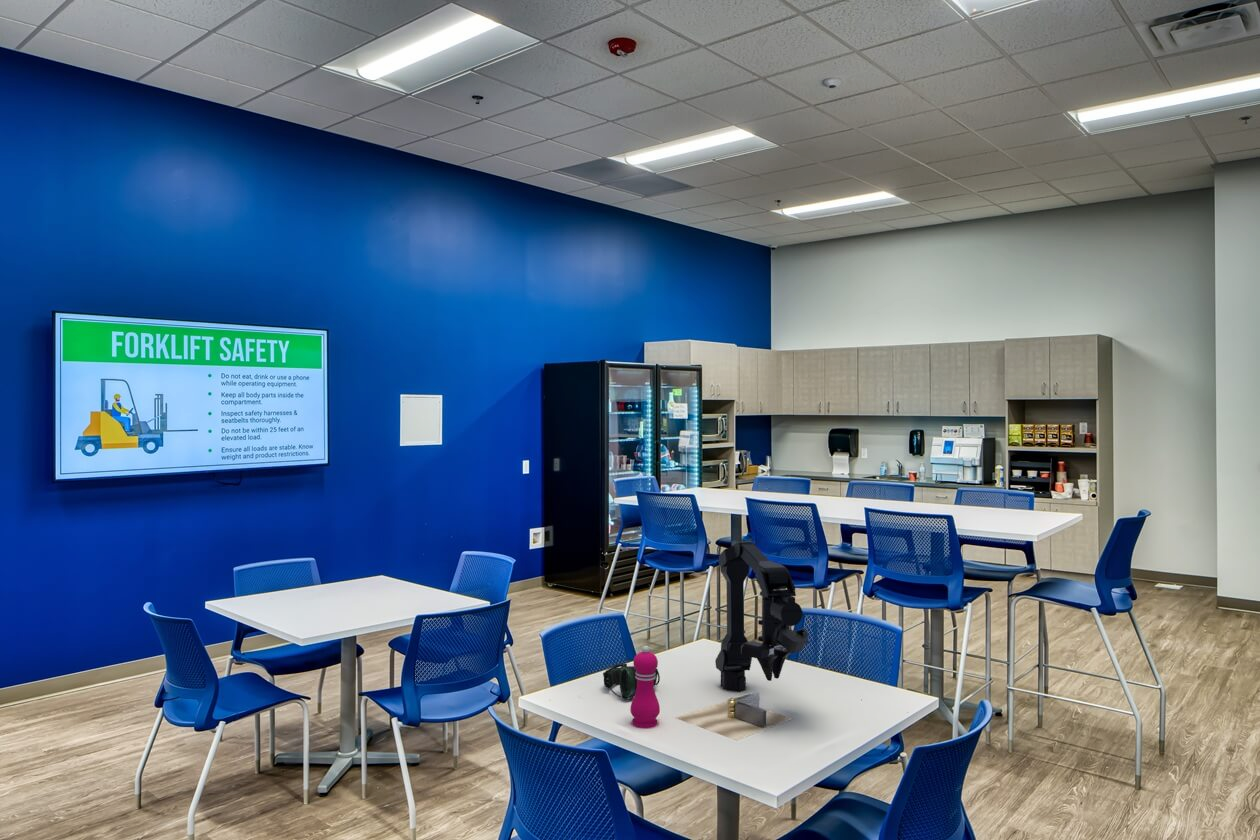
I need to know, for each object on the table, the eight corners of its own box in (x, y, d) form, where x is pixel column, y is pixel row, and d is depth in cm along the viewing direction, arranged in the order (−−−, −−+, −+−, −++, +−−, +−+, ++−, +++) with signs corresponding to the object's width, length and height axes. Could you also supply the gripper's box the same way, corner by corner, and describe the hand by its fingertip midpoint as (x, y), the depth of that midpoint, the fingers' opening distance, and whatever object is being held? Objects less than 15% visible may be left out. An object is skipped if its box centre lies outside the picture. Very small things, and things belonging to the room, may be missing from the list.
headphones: (676, 679, 222) (652, 670, 241) (642, 646, 220) (620, 639, 239) (645, 719, 217) (622, 707, 236) (610, 685, 216) (590, 676, 235)
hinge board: (674, 721, 205) (674, 717, 205) (731, 702, 220) (731, 698, 220) (736, 744, 191) (736, 740, 191) (793, 722, 206) (793, 718, 206)
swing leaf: (726, 715, 207) (726, 700, 207) (731, 713, 208) (731, 698, 208) (761, 727, 198) (761, 712, 198) (767, 725, 200) (767, 710, 200)
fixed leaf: (732, 718, 205) (733, 700, 205) (725, 716, 207) (725, 698, 207) (761, 708, 213) (761, 691, 213) (753, 706, 214) (754, 689, 214)
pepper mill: (642, 720, 206) (643, 640, 206) (665, 726, 202) (666, 645, 202) (624, 728, 201) (625, 646, 201) (647, 735, 196) (648, 651, 196)
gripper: (776, 628, 193) (776, 695, 193) (822, 617, 206) (821, 679, 205) (739, 620, 201) (739, 684, 201) (785, 609, 214) (785, 669, 214)
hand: (772, 679), depth 205 cm, fingers open, 3 cm apart
